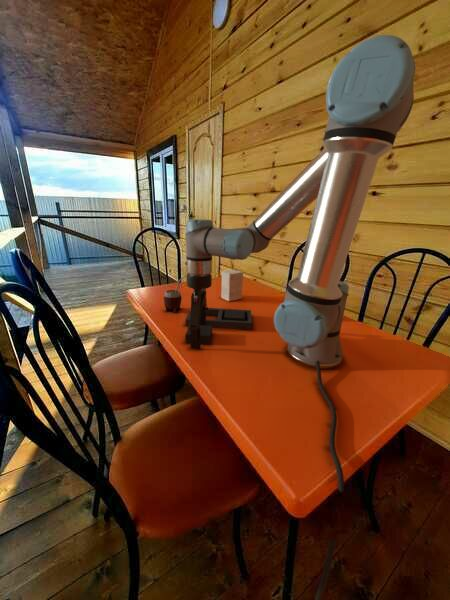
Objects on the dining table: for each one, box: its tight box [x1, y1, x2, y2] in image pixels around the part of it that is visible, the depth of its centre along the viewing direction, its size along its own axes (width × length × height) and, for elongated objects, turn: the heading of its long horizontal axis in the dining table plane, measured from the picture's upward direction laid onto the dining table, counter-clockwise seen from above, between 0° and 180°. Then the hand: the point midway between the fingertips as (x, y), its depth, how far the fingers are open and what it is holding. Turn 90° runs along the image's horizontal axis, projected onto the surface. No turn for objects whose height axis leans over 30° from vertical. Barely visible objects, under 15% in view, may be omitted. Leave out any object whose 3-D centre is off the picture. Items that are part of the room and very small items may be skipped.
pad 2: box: [223, 310, 246, 321], centre depth 96 cm, size 8×8×3 cm
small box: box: [220, 269, 244, 302], centre depth 120 cm, size 8×6×13 cm
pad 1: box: [185, 325, 213, 346], centre depth 82 cm, size 8×8×3 cm
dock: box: [185, 307, 253, 331], centre depth 96 cm, size 13×24×2 cm, turn 87°
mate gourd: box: [163, 275, 187, 314], centre depth 102 cm, size 8×8×15 cm
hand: (198, 337), depth 82 cm, fingers open, 13 cm apart
